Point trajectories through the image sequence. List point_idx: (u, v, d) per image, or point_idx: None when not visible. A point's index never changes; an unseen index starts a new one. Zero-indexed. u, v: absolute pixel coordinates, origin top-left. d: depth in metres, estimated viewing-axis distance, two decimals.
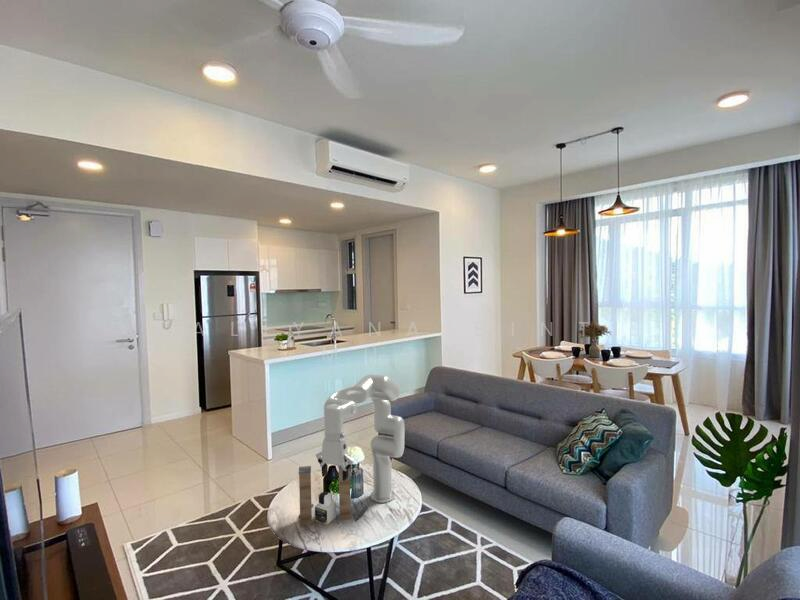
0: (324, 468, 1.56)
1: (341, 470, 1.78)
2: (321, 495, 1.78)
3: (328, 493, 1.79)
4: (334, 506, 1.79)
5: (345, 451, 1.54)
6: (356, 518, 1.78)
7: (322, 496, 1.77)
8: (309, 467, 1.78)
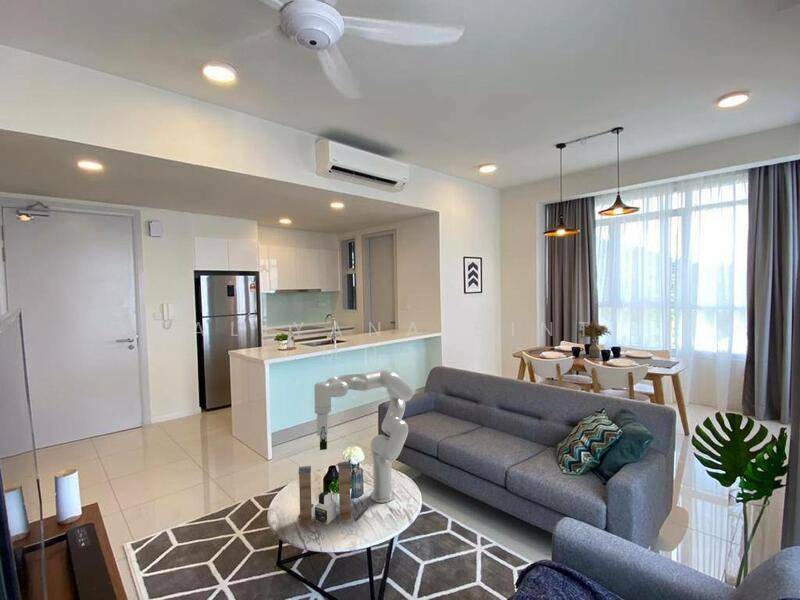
0: None
1: (341, 470, 1.78)
2: (321, 495, 1.78)
3: (328, 493, 1.79)
4: (334, 506, 1.79)
5: None
6: (356, 518, 1.78)
7: (322, 496, 1.77)
8: (309, 467, 1.78)
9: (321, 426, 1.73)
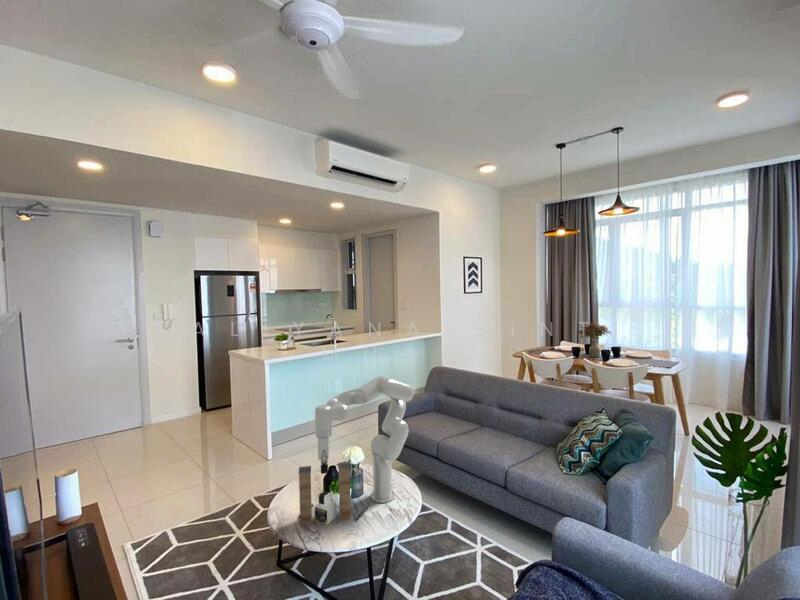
0: None
1: (341, 470, 1.78)
2: (321, 495, 1.78)
3: (328, 493, 1.79)
4: (334, 506, 1.79)
5: None
6: (356, 518, 1.78)
7: (322, 496, 1.77)
8: (309, 467, 1.78)
9: (322, 450, 1.73)
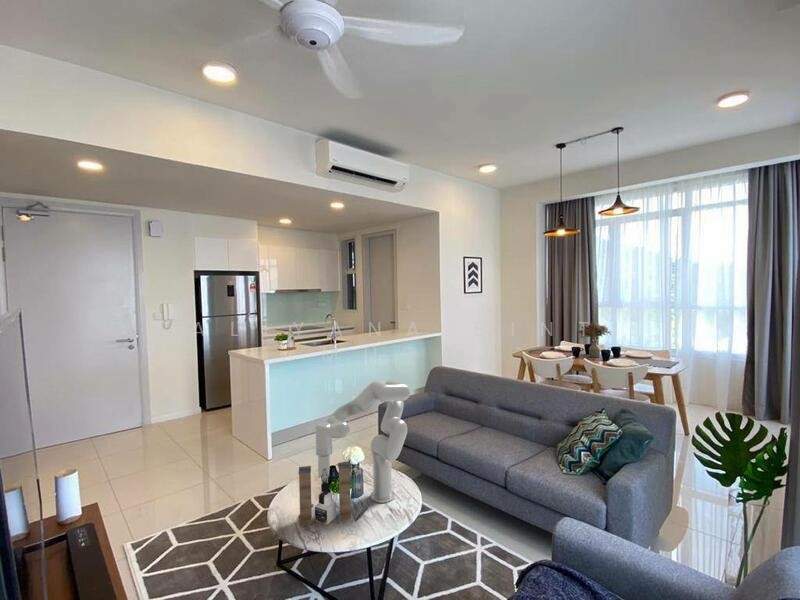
0: None
1: (341, 470, 1.78)
2: (321, 495, 1.78)
3: (328, 493, 1.79)
4: (334, 506, 1.80)
5: None
6: (356, 518, 1.78)
7: (322, 496, 1.77)
8: (309, 467, 1.78)
9: (322, 468, 1.74)
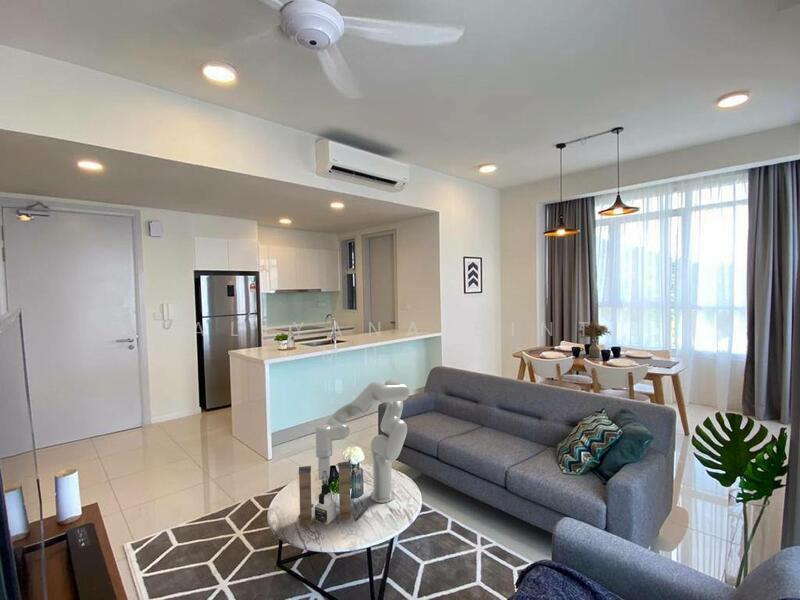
0: None
1: (341, 470, 1.78)
2: (321, 495, 1.78)
3: (328, 493, 1.79)
4: (334, 506, 1.80)
5: None
6: (356, 518, 1.78)
7: (322, 496, 1.77)
8: (309, 467, 1.78)
9: (323, 470, 1.74)
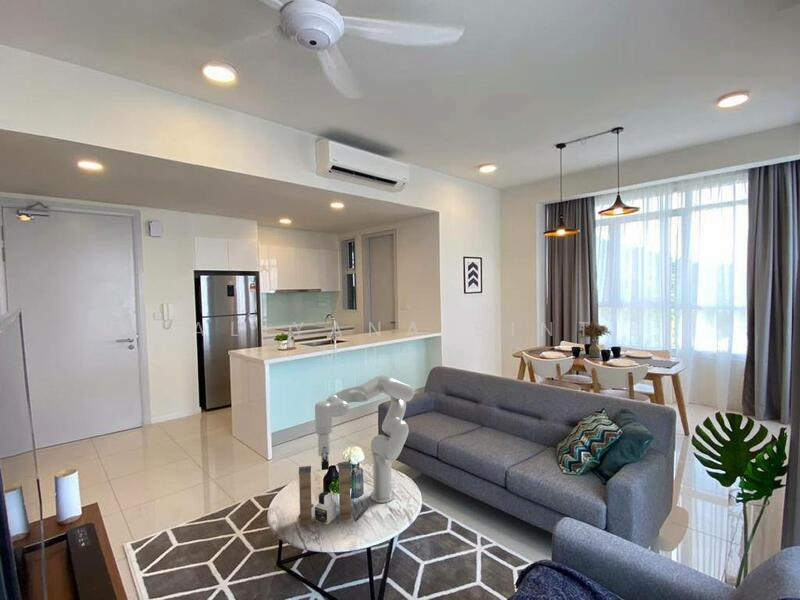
0: None
1: (341, 470, 1.78)
2: (321, 495, 1.78)
3: (328, 493, 1.79)
4: (334, 506, 1.79)
5: None
6: (356, 518, 1.78)
7: (322, 496, 1.77)
8: (309, 467, 1.78)
9: (322, 446, 1.73)
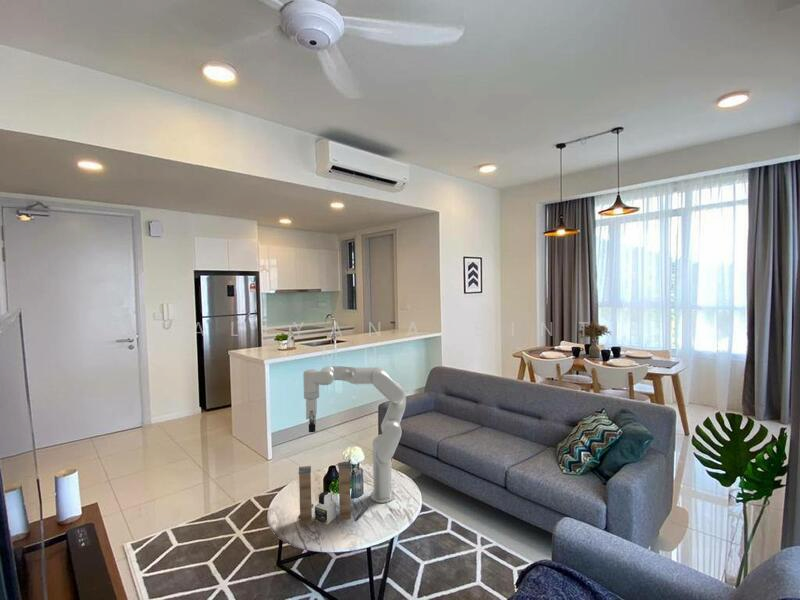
0: None
1: (341, 470, 1.78)
2: (321, 495, 1.78)
3: (328, 493, 1.79)
4: (334, 506, 1.79)
5: None
6: (356, 518, 1.78)
7: (322, 496, 1.77)
8: (309, 467, 1.78)
9: (310, 410, 1.86)
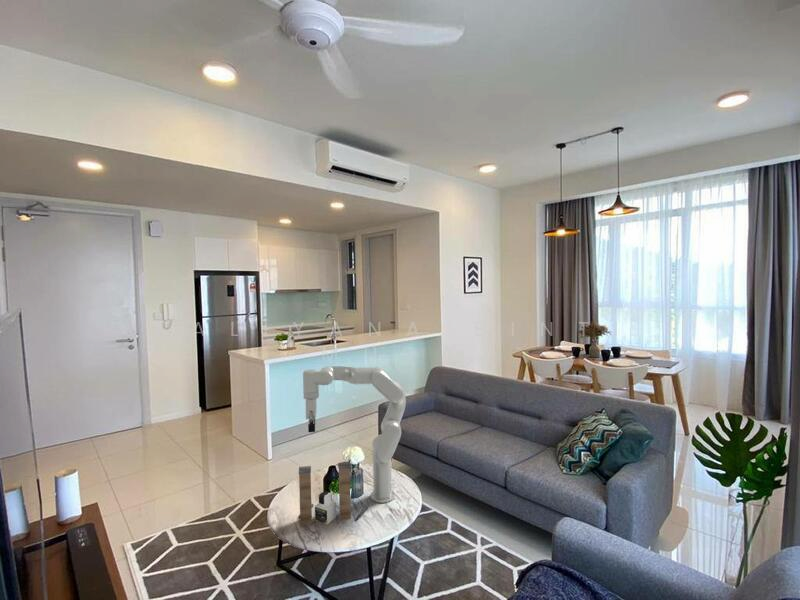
0: None
1: (341, 470, 1.78)
2: (321, 495, 1.78)
3: (328, 493, 1.79)
4: (334, 506, 1.79)
5: None
6: (356, 518, 1.78)
7: (322, 496, 1.77)
8: (309, 467, 1.78)
9: (309, 410, 1.86)
